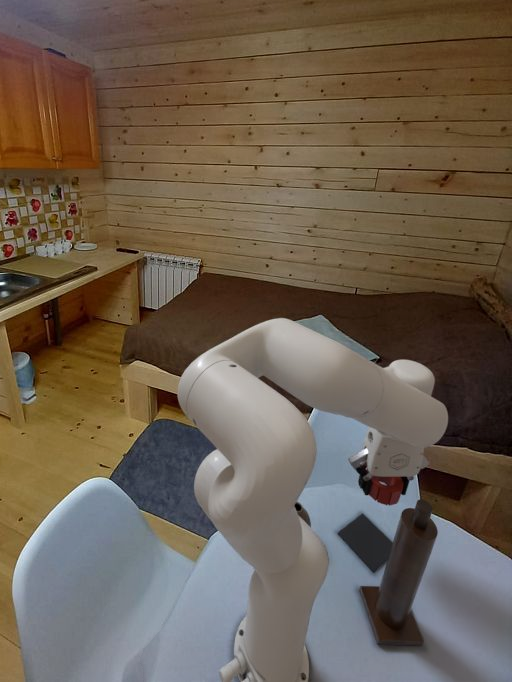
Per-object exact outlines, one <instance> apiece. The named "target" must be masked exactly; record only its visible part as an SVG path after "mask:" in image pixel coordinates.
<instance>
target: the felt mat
mask: <svg viewBox="0 0 512 682" xmlns="http://www.w3.org/2000/svg"><path fill="white" fill-rule="evenodd" d="M337 536H339V537H340V539H342V540H343V541H344V542H345V544H346V545H347V546H348V547H349V548H350V549H351V550H352V551H353V553H355V555H356V556H357V557H358V558H359V559H360V560H361V561H362V562H363V564H365V566H366V567H367V568H368V569H369V571H371V572H372V573H374V572H375V571H376V570H378V569H379V568H380V567H381V566H382V565H383V564H384V563H385V562H387V560H388V557H389V554H390V550H391V547H392V544H393V540H391V539H390V538H389V537H388V536H386V534H385V533H384V532H383V531H382V530H381V529H380V528H378V527H377V525H376V524H375V523H374V522H372V521H371V520H370V519H369V518H368V517H367V516H366V515H365V514H364V513H361V514H360V515H358V516H357V517H355V518H354V519H353V520H351V521H350V523H348V524H347V525H346V526H344V527H343V528H341V529H340V530H339V531H338V532H337Z"/></svg>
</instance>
